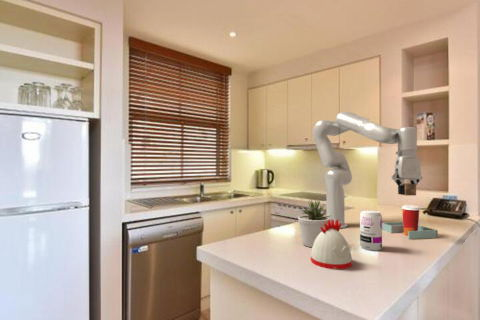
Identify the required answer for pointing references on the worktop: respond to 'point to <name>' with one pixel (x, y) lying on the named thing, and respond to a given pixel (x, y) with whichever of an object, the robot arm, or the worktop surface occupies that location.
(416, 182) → the robot arm
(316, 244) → the white crested dome
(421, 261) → the worktop surface
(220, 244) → the worktop surface
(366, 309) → the worktop surface
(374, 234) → the supplement can
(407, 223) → the paper cup
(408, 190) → the walnut block
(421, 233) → the caddy
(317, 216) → the potted plant
